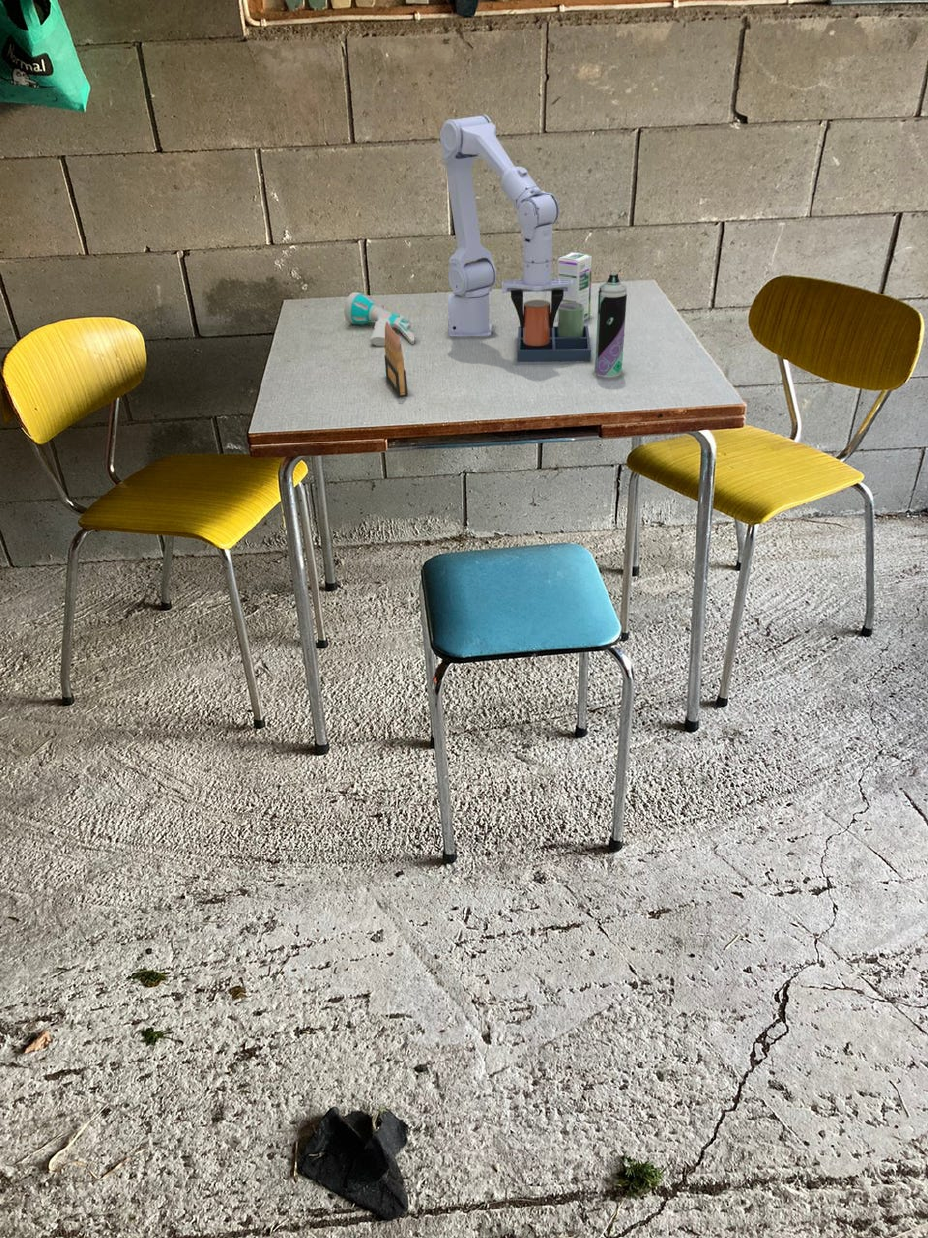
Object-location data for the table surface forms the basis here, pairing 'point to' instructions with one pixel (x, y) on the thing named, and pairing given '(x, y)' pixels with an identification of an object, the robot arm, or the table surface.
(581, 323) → the sage cup
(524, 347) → the cup rack
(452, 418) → the table surface
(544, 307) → the terracotta cup
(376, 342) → the garden hose nozzle
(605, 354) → the spray can
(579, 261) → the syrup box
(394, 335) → the ammunition clip
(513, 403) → the table surface
